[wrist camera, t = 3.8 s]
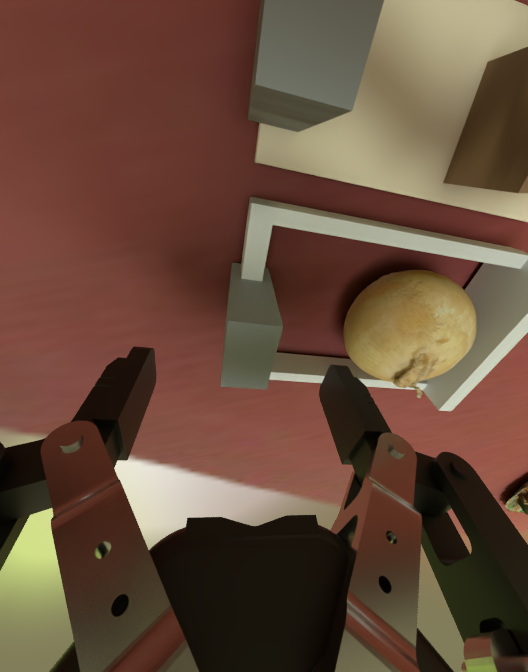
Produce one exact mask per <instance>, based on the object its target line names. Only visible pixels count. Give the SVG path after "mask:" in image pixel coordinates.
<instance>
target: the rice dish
mask: <svg viewBox="0 0 528 672" xmlns="http://www.w3.org/2000/svg"><path fill="white" fill-rule="evenodd" d="M517 495H518V496H517ZM518 497H519V498H518ZM505 507H506V508H508V509H507V510H509V511H512V512H524V513H525V514H527V515H528V481H527V482H525V483H524V484H523V485H522V486H521V487H520V488H519V489H518V490H517V492H516V493H515V494H514V495H513V497H511V499H509V500H508V502H507V503H506V505H505Z"/></svg>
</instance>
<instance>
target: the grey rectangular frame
mask: <svg viewBox="0 0 528 672" xmlns="http://www.w3.org/2000/svg"><path fill="white" fill-rule="evenodd" d="M273 225H276V226H282V227H288V228H293V229H299V230H304V231H310V232H316V233H321V234H327V235H332V236H338V237H344V238H349V239H355V240H361V241H366V242H372V243H377V244H383V245H389V246H394V247H400V248H405V249H411V250H417V251H422V252H428V253H433V254H439V255H445V256H450V257H456V258H461V259H467V260H473V261H478V262H484V263H483V265H482V266H481V268H480V269H479V270H478V272H477V273H476V275H475V276H474V278H473V279H472V280H471V282H470V283H469V285H468V286H467V287H466V289H465V290H464V291H465V292H466V293H467V294H468V296H469V298H470V300H471V301H472V303H473V306H474V309H475V312H476V331H477V332H476V337H475V340H474V343H473V345H472V347H471V349H470V350H469V351H468V352H467V354H466V355H465V356H464V357H463V358H462V359H461V360H460V361H459V362H458V363H457V364H456V365H455V366H454V367H452V368H451V369H449V370H448V371H447V372H445V373H443V374H441V375H439V376H436V377H433V378H430V379H427V380H422V381H419V382H418V383H417V384H416V387H419V389H420V390H423V391H424V392H425V394H426V395H427V396H428V398H429V399H430V400H431V401H432V403H433V404H434V405H435V407H436V408H437V409H438V410H440V411H452V410H453V409H454V408H455V407H456V406H457V405H458V404H459V403H460V402H461V401H462V400H463V399H464V398H465V396H466V395H467V394H468V393H469V392H470V391H471V390H472V389H473V388H474V387H475V386H476V385H477V384H478V383H479V382H480V381H481V380H482V379H483V378H484V377H485V376H486V375H487V374H488V373H489V372H490V371H491V370H492V369H493V368H494V366H495V365H496V364H497V363H498V362H499V361H500V360H501V359H502V358H503V357H504V356H505V355H506V354H507V353H508V352H509V351H510V350H511V349H512V348H513V347H514V346H515V345H516V344H517V343H518V342H519V341H520V340H521V339H522V338H523V337H524V335H525V334H526V333H527V332H528V253H527V252H524V251H521V250H518V249H515V248H512V247H507V246H502V245H497V244H492V243H487V242H482V241H477V240H471V239H466V238H461V237H456V236H451V235H446V234H441V233H436V232H430V231H425V230H420V229H415V228H410V227H405V226H400V225H395V224H389V223H384V222H379V221H374V220H369V219H364V218H359V217H354V216H348V215H343V214H338V213H333V212H328V211H323V210H318V209H313V208H307V207H302V206H297V205H292V204H287V203H282V202H277V201H272V200H266V199H261V198H256V197H251V196H250V200H249V208H248V216H247V223H246V231H245V239H244V247H243V254H242V262H241V264H240V263H233V262H232V267H231V277H230V286H229V295H228V304H227V314H226V325H225V337H224V349H223V361H222V373H221V384H220V386H221V387H237V388H253V389H267V385H268V382H269V379H270V380H284V381H298V382H312V383H322V382H323V379H324V377H325V375H326V373H327V370H328V368H329V366H330V365H343V366H348V367H349V369H350V371H351V373H352V374H353V376H354V377H357V378H358V379H359V380H360V381H361V382H362V383H363V384H364V385H365V386H369V387H383V388H397V389H412V390H415V389H414V388H411V387H406V388H403V387H402V388H400V387H397V386H396V385H394V384H393V382H388V381H384V380H381V379H378V378H376V377H374V376H372V375H370V374H368V373H366V372H365V371H363V370H362V369H360V368H359V367H358V366H357V365H356V364H355V363H354V362H353V361H352V359H344V358H332V357H321V356H310V355H299V354H288V353H277V348H278V345H279V341H280V337H281V333H282V330H283V324H282V320H281V316H280V312H279V308H278V304H277V300H276V296H275V292H274V288H273V284H272V280H271V276H270V272H269V268H267V267H265V263H266V258H267V252H268V247H269V242H270V236H271V231H272V226H273ZM414 387H415V386H414Z"/></svg>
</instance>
